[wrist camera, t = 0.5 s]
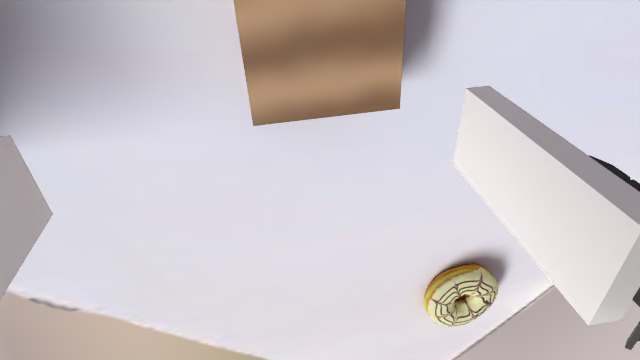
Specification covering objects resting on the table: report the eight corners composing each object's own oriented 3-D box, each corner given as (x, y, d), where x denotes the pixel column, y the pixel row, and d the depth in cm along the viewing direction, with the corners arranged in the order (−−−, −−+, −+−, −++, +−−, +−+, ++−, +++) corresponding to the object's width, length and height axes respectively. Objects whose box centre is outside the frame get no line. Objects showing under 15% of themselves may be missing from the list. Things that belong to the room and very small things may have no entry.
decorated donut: (496, 288, 62) (510, 308, 58) (433, 319, 63) (444, 340, 60) (478, 248, 56) (492, 267, 53) (410, 283, 57) (420, 303, 54)
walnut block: (228, -53, 32) (225, -49, 27) (384, -64, 33) (409, -62, 28) (251, 100, 39) (253, 125, 34) (380, 85, 41) (399, 108, 36)
